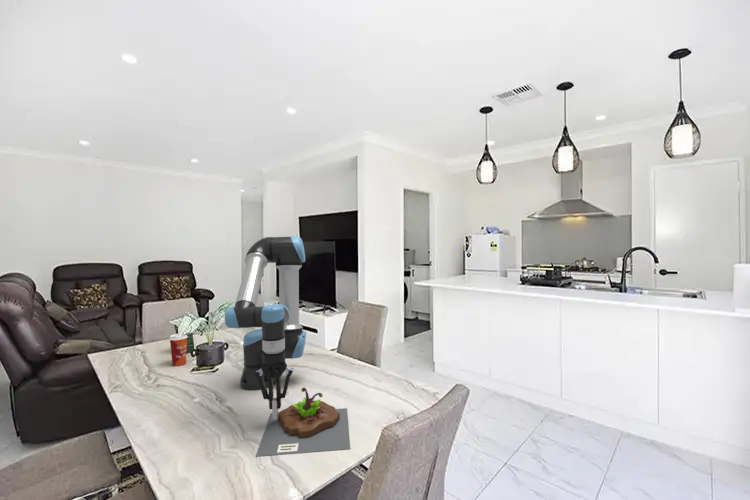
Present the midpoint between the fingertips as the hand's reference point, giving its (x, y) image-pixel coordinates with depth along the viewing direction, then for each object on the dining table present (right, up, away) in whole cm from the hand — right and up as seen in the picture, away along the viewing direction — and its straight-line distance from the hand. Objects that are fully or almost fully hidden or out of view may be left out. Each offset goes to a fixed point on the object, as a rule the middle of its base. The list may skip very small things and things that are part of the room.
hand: (275, 417), depth 127 cm
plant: (+11, -2, +1) cm, 11 cm away
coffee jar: (-72, +1, +78) cm, 107 cm away
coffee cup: (-65, 0, +59) cm, 88 cm away
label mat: (+12, -2, -4) cm, 13 cm away
